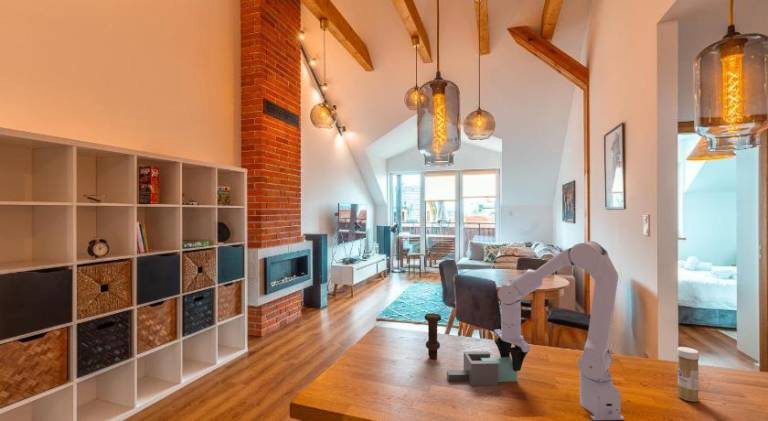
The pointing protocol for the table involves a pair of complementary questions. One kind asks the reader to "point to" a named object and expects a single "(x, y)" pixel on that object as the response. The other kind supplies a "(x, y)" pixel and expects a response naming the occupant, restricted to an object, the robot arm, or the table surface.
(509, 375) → the plug
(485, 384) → the header
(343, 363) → the table surface
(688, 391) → the sprinkles bottle
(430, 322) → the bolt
